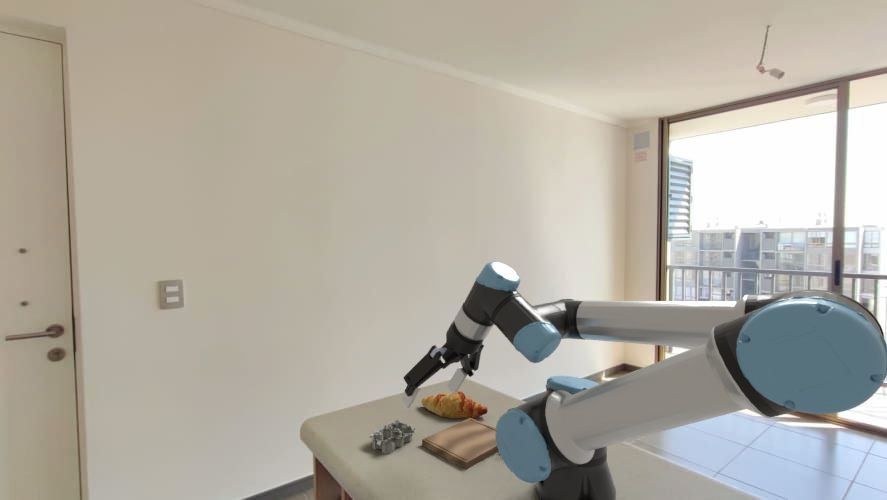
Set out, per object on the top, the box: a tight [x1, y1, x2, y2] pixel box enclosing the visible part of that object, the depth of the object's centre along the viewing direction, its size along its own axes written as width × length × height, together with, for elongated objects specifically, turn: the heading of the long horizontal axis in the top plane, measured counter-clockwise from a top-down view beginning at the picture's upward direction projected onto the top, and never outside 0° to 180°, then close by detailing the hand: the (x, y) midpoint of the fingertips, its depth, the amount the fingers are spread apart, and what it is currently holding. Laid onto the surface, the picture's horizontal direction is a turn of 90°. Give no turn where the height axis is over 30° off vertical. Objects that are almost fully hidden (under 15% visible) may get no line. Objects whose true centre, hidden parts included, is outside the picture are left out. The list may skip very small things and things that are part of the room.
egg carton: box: [368, 419, 416, 454], centre depth 105 cm, size 11×8×4 cm
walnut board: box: [421, 418, 499, 470], centre depth 104 cm, size 15×18×2 cm
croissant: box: [421, 390, 488, 419], centre depth 123 cm, size 21×10×8 cm, turn 67°
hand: (429, 396), depth 94 cm, fingers open, 13 cm apart
